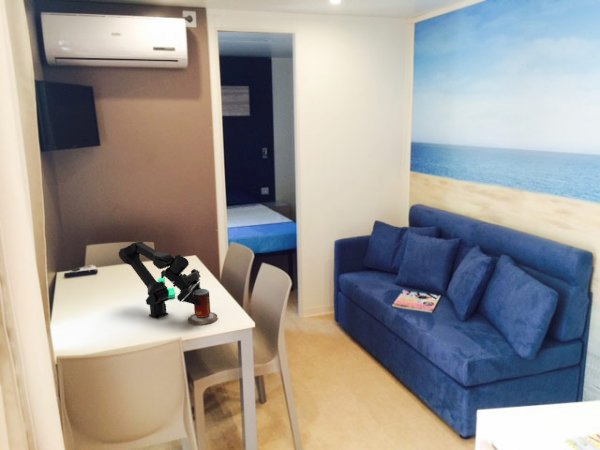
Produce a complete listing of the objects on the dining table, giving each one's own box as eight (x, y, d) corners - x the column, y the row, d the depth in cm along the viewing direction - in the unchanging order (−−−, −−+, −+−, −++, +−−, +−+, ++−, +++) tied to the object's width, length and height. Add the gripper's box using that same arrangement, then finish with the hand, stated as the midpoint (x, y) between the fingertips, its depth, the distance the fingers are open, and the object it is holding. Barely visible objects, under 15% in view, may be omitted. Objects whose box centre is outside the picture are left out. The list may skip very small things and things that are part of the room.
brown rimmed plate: (201, 327, 218) (201, 324, 218) (182, 321, 226) (182, 318, 226) (223, 318, 228) (223, 315, 228) (204, 312, 236) (204, 309, 236)
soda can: (198, 313, 232) (196, 287, 229) (213, 314, 230) (211, 288, 228) (192, 318, 225) (190, 292, 222) (207, 319, 223) (205, 293, 221)
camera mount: (174, 299, 256) (173, 280, 254) (159, 301, 255) (157, 281, 253) (174, 292, 268) (172, 273, 266) (159, 293, 266) (158, 275, 264)
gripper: (182, 271, 213) (209, 296, 215) (193, 260, 232) (218, 282, 233) (165, 289, 215) (192, 313, 217) (178, 276, 234) (203, 298, 235)
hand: (202, 301), depth 226 cm, fingers open, 9 cm apart
